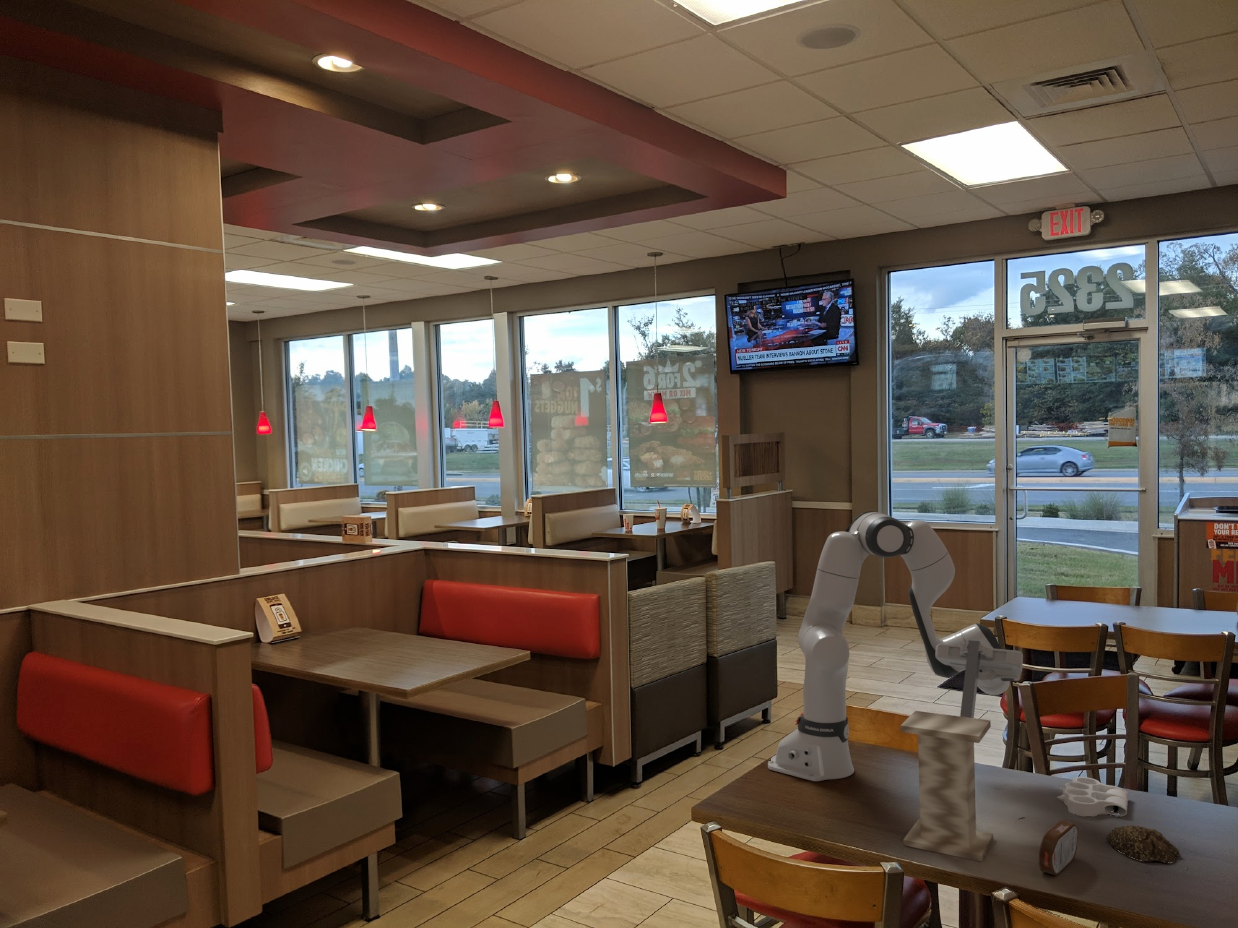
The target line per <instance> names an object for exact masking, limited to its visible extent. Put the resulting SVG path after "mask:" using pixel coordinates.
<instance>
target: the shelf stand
mask: <svg viewBox="0 0 1238 928" xmlns="http://www.w3.org/2000/svg"><path fill="white" fill-rule="evenodd" d="M991 722H992V721H991V720H990V719H982V718H975V717H974V718H968V717H960V715H959V716H958V715H951V714H943V713H935V712H928V711H921V710H915V711H913V712H912V713H911V715H910V716H908V717H907V718H906V719H905V720H904V721H903V723H901V724H900V726H899V727H900V733H906V734H913V735H917V743H918V744H917V746H918V747H917V749H918V782H919V783H918V784H919V785H918V786H919V790H918V791H919V793H918V794H919V818H920V819H919V818H918V819H917V821H916V822H915V823H914V824H913V826H912V827H911V829H909V831H908V833H907V834H906V835H905V837H903V841H902V842H903V846H906V847H910V848H914V849H915V848H916V849H920V850H925V851H930V852H934V853H939V854H944V855H948V856H954V857H958V858H963V859H968V860H973V861H978V862H982V861H984V858H985V856H986V855H987V853H988V850H989V848H990V846H991V845H992V843H993V841H994V833H992V832H991V833H990V832H986V831H982V830H981V831H980V830H977V816H976V815H977V813H976V810H977V809H976V807H977V806H976V773H975V771H976V770H975V767H976V766H975V765H976V764H975V743H976V744H980V743H981V741H982V740H983V739H984V737H985V736H986V734H987V732H988V731H989V730H990V729H991Z"/></svg>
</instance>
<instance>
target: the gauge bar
mask: <svg viewBox="0 0 1238 928" xmlns="http://www.w3.org/2000/svg"><path fill="white" fill-rule="evenodd" d="M979 645H981V643H980V641H972V640H969V643H968V652H967V661H966V669H965V670H964V680H963V688H962V697H961V706H960V715H959V716H960V717H968V718H975V712H976V711H975V709H976V700H977V692H978V691H977V690H978V686H977V683H978V674H979V664H980V655H981V654H979V652H978V649H979Z"/></svg>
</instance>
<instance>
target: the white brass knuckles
mask: <svg viewBox="0 0 1238 928" xmlns="http://www.w3.org/2000/svg"><path fill="white" fill-rule="evenodd" d="M1063 786H1064V787H1060V788H1058V790H1060V791H1062V794H1061V795H1058V796H1056V798H1057V799H1059V800H1060V801H1063V804H1064V805H1065V806H1067V810H1068V812H1069V813H1071V814H1073V815H1075V814H1076V815H1075V816H1079V817H1085V816H1092V817H1096V816H1098V815H1107V814H1110V816H1112V815H1111V814H1114V812H1111V811H1115V806H1117V807H1118V808H1117V809H1118V810H1119V812H1118V810H1117V812H1118V813H1119V814H1120V815H1117V816H1116V817H1118V816H1120V817H1124V816H1127V814H1128V803H1129V802H1128V800H1129V792H1128V791H1127V790H1125V789H1124V788H1121V787H1118V786H1115V785H1111V784H1110V785H1109V784H1104V783H1102V782H1100V781H1099V780H1098V779H1095V778H1091V777H1086V776H1076V777H1073V778H1072V781H1068V782H1066V783H1065V784H1064V785H1063ZM1113 806H1114V807H1113ZM1113 808H1114V809H1113ZM1097 814H1098V815H1097Z"/></svg>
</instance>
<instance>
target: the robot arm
mask: <svg viewBox="0 0 1238 928" xmlns="http://www.w3.org/2000/svg"><path fill="white" fill-rule="evenodd" d="M869 555H874V556H876V557H879V558H882V559H883V558H887V559H888V558H893V557H894V558H895V557H897V556H900V557H901V558H902V559H903V561H904V563H905V565H906V567H907V569H908V570H909V572H910V573H909V574H910V576H911V586H910V588H908V591H907V592H908V593H907V594H908V598H909V603H910V605H911V608H912V613H913V616H914V619H915V622H916V625H917V628H918V631H919V635H920V637H921V639H922V641H923V645H924V650H925V651H924V652H925V657H926V660H927V661H926V662H927V664H928V667H929V669H931V671H932V672H933V673H934V675H936V676H938V677H941V678H945V679H950V678H953V677H954V676H956V675H958V674H960V673H961V672H963V671H965V669H966V661H967V652H968V643H969V640H972V641H980V643H981V645H979V649H978V652H979V654H981V655H980V664H979V674H978V683H977V688H978V689H980V690H981V691H982V692H983V693H985V694H987V695H990V696H998V695H1002V694H1003V693H1005V692H1006V691H1007V690H1008V689H1009V686H1010V683H1011V682H1018V681H1020V679H1021V674H1022V672H1023V666H1024V665H1023V662H1024V654H1023V652H1022V651H1020V650H1014V649H1011V650H1010V649H1004V648H1003V649H1002V647H1001V644H1000V642H999V640H998V639H997V637H996V636H995V634H994V633H993V631H992V629H990V628H989V627H988V626H986V625H984V624H982V623H974V624H971V625H969V626H967V627H965V628H962V629H960V630H959V631H956V632H954V633H951V634H948V635H947V636H945V637H938V636H937V633H936V630H935V627H934V624H933V621H932V620H933V619H932V618H931V614H930V613H931V609H932V607H933V605H934V603H935V602H936V601H937V600H938V599H939V598H940V597H941V596H942V595H943V594H944V593H945V592H946V591H947V590H948V588H949V587H950V586H951V585H952V582H953V580H954V578H955V575H956V574H955V573H956V567H955V564H954V562H953V559H952V557H951V555H950V553H949V551H948V549H947V548H946V545H945V544H944V542H943V541H942V540H941V538H940V537H939V535H938V533H936V531H935V530H934V529H933V527H932V526H931V525H930V524H929V523H928V522H927V521H924V520H921V519H915V520H911V521H908V522H906V523H903V522H902V521H901V520H899V519H897V518H895V517H892V516H890V515H889V514H887V513H884V512H878V511H872V510H871V511H865V512H862V513H860V514H859V515H857V516H856V517H855V518H854V519H853V521H852V522H851V524H849V526H847V528H846V529H845V531H835V532H832V533H831V534H829V536H828V537H827V538H826V540H825V543H824V545H823V549H822V550H821V554H820V557H819V561H818V564H817V566H816V567H817V568H816V573H815V577H814V582H813V586H812V587H813V588H812V591H811V596H810V599H809V602H808V605H807V608H806V610H805V614H804V616H803V619H802V623H801V624H800V629H799V631H798V635H797V641H798V647H799V648H800V650H801V651H802V653H803V655H804V660H805V668H804V678H803V679H804V680H803V685H802V696H803V697H802V699H803V700H802V703H803V705H802V706H803V711H802V712H801V713H800V714H799V715H800V716H798V717H797V718H796V720H795V721H794V722H795V724H794V725H795V726H796V725H797V728H796V729H794V730H793V731H791V732H790V733H789V734H787V735H786V736H785V737H784V738H782V739H781V740H780V741H779V743H778V745H777V749H776V753H775V755H773V756H772V757H771V758H770V759H771V761H769V760H768V762H767V768H768V770H770V771H774V772H777V773H778V772H779V773H781V774H784V775H785V774H786V775H790V776H793V777H796V778H801V779H805V780H808V781H811V782H821V781H825V780H837V779H838V780H839V779H843V778H847V777H849V776H850V777H851V775H853V774H854V772H855V768H854V765H853V763H852V762H853V761H852V759H851V753H850V748H849V741H848V740H849V736H850V728H849V727H850V725H849V718H848V716H847V702H846V701H847V700H846V699H847V698H846V697H847V694H846V692H847V691H846V690H847V689H846V688H847V678H848V668H849V659H850V647H849V644H848V643H849V642H848V641H847V639H846V637H845V636H844V635H843V632H844V628H845V625H846V622H847V619H848V618H849V617H848V616H849V614H850V613H851V611H852V609H853V607H854V604H855V599H856V596H857V595H856V594H857V590H858V586H859V581H860V578H861V577H860V576H861V570H862V566H863V564H864V561H865V560H866V559H867V557H868V556H869Z"/></svg>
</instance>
